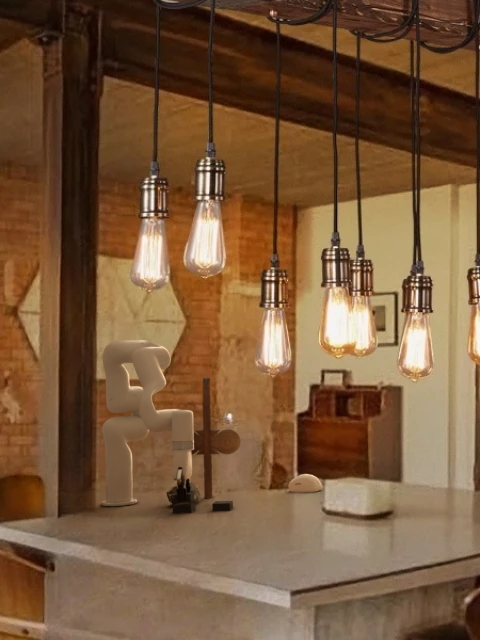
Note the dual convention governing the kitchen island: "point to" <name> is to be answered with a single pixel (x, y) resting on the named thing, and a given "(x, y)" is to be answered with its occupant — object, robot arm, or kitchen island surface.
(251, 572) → the kitchen island surface
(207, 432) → the brown flat cross piece
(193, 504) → the pad base
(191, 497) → the pad
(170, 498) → the rock
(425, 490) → the kitchen island surface
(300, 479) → the computer mouse
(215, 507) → the pad
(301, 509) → the kitchen island surface
